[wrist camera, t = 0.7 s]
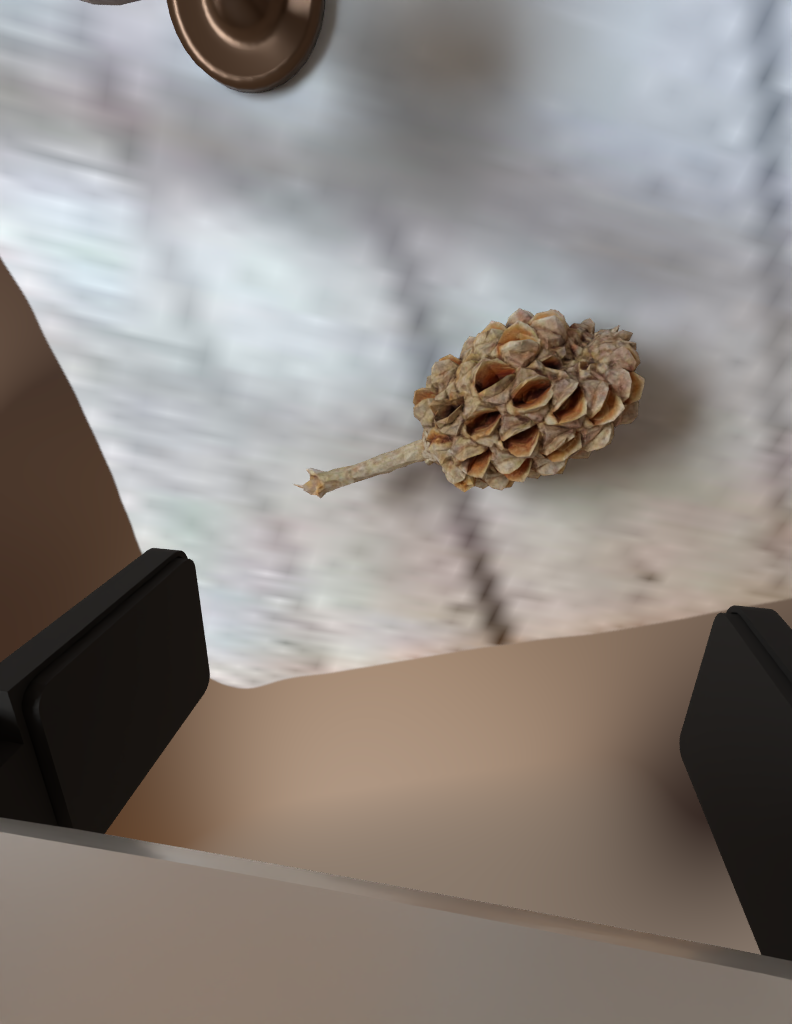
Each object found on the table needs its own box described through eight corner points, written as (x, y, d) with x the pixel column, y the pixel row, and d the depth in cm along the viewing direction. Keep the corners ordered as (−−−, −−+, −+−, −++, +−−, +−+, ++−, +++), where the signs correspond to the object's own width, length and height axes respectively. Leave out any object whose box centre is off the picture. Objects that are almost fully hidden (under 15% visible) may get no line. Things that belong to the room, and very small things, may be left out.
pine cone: (585, 263, 33) (621, 254, 24) (643, 403, 35) (696, 442, 26) (296, 427, 40) (239, 467, 31) (362, 534, 42) (327, 600, 33)
